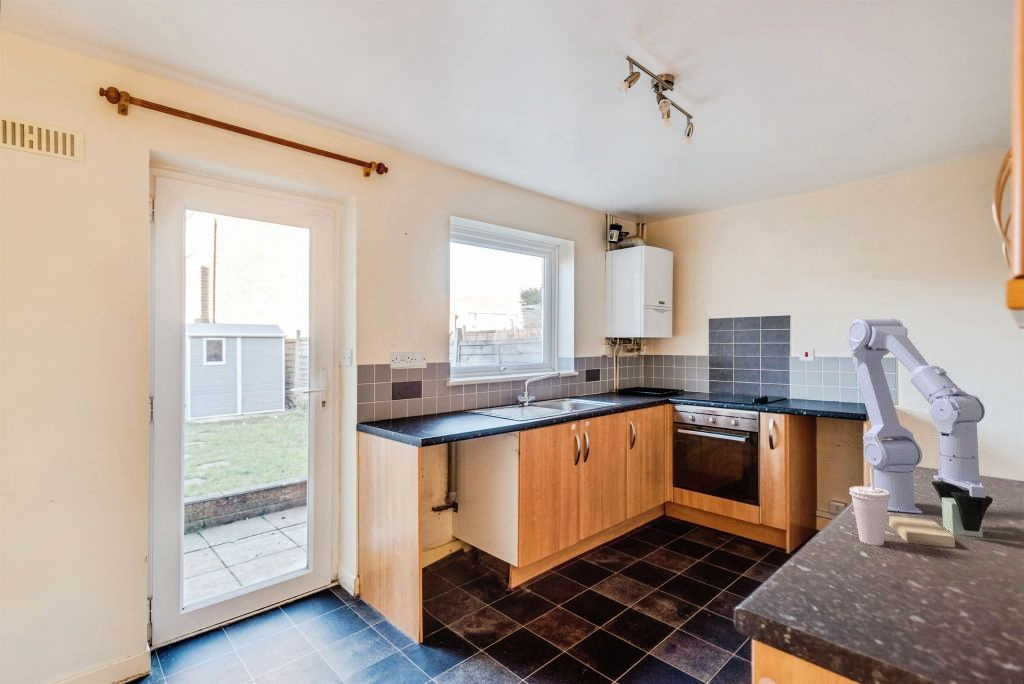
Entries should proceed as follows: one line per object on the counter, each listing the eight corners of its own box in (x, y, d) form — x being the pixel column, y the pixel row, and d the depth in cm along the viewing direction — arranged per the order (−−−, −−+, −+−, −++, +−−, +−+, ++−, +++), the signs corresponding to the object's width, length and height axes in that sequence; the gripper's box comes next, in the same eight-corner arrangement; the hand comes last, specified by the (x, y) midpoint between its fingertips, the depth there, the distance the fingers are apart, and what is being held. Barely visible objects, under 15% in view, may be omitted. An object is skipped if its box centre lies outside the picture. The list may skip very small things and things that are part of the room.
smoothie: (900, 549, 88) (897, 471, 89) (861, 547, 90) (857, 470, 90) (881, 536, 94) (878, 464, 95) (844, 534, 96) (841, 463, 96)
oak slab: (889, 525, 100) (889, 515, 100) (931, 529, 98) (931, 519, 98) (907, 542, 91) (907, 532, 91) (954, 547, 88) (954, 536, 88)
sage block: (943, 526, 99) (941, 497, 99) (971, 529, 97) (969, 499, 98) (953, 534, 95) (951, 503, 95) (982, 537, 93) (981, 505, 93)
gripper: (919, 448, 105) (922, 511, 104) (949, 461, 92) (953, 534, 91) (960, 449, 102) (964, 514, 102) (998, 464, 89) (1002, 539, 88)
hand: (962, 524), depth 96 cm, fingers open, 7 cm apart
